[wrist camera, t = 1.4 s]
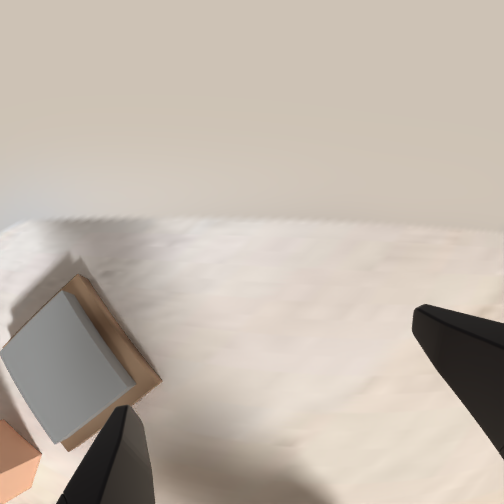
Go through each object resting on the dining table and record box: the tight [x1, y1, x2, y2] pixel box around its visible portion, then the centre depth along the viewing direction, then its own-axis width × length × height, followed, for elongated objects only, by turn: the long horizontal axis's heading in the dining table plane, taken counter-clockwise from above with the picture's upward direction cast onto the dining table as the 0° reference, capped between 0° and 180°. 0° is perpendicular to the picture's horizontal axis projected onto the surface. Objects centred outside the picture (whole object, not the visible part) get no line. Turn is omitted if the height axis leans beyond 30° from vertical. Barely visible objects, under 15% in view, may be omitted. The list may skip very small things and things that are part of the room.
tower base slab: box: [3, 274, 162, 452], centre depth 20 cm, size 10×10×2 cm
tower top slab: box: [0, 290, 136, 444], centre depth 18 cm, size 8×8×2 cm
